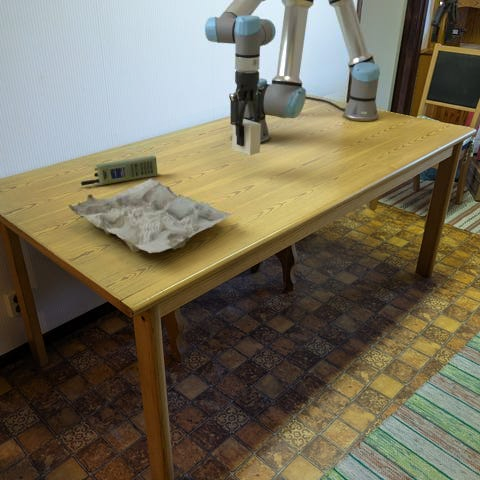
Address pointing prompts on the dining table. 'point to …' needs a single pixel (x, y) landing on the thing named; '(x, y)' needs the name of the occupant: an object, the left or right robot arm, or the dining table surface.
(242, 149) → the brick
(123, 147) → the dining table surface
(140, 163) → the handheld radio
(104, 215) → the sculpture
